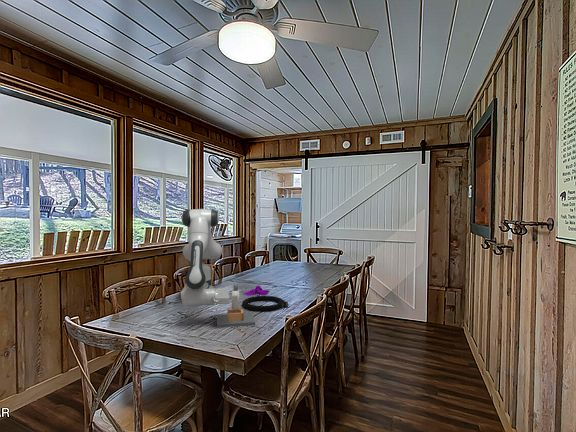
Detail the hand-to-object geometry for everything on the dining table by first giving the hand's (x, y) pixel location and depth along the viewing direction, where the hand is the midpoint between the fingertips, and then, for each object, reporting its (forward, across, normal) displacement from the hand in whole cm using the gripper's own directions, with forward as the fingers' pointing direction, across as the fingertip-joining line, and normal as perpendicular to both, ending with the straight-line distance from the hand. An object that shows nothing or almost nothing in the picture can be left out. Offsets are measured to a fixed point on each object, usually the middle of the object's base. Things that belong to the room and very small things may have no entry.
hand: (237, 295), depth 181 cm
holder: (-1, 0, +14) cm, 14 cm away
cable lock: (+20, +26, +15) cm, 36 cm away
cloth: (+20, +58, +15) cm, 64 cm away
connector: (-1, 0, +7) cm, 7 cm away
